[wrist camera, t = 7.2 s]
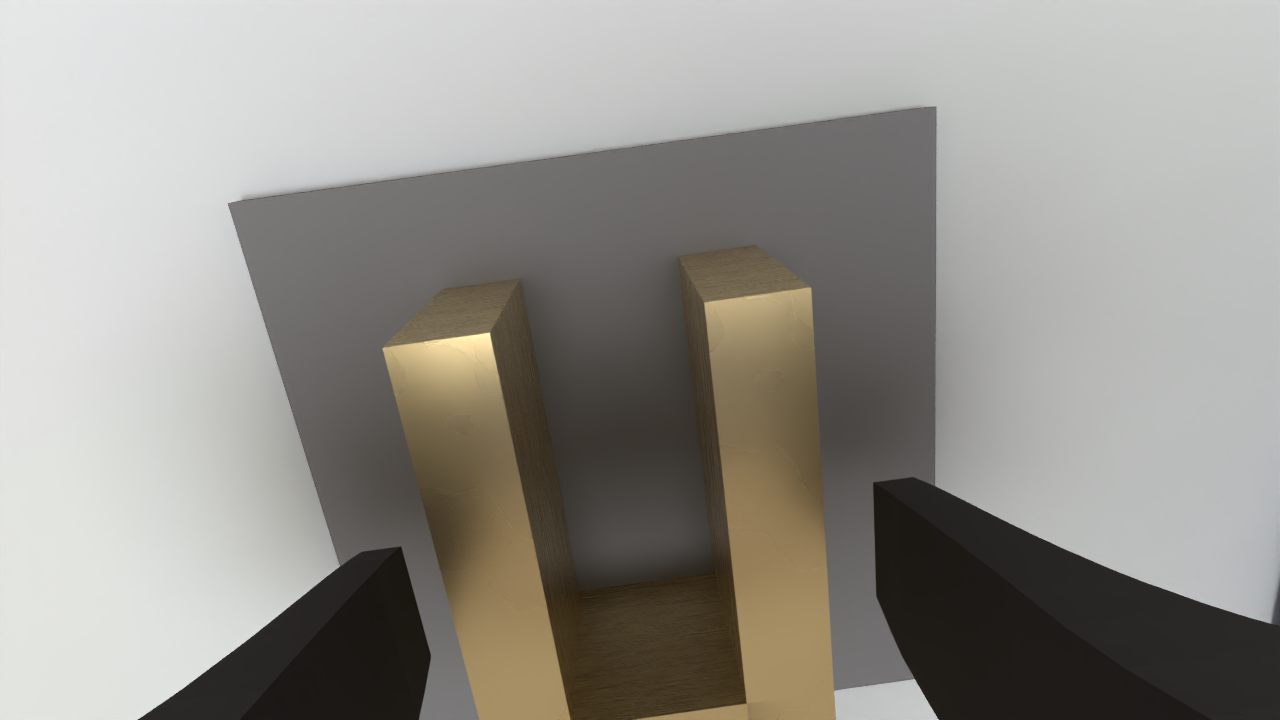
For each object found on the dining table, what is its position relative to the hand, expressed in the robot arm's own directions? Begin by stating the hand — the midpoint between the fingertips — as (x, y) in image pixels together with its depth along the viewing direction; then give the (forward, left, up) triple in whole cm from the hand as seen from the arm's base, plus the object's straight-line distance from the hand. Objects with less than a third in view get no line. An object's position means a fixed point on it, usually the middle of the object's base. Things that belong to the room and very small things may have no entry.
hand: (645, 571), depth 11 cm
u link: (0, 0, -3) cm, 3 cm away
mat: (0, 0, -4) cm, 4 cm away
